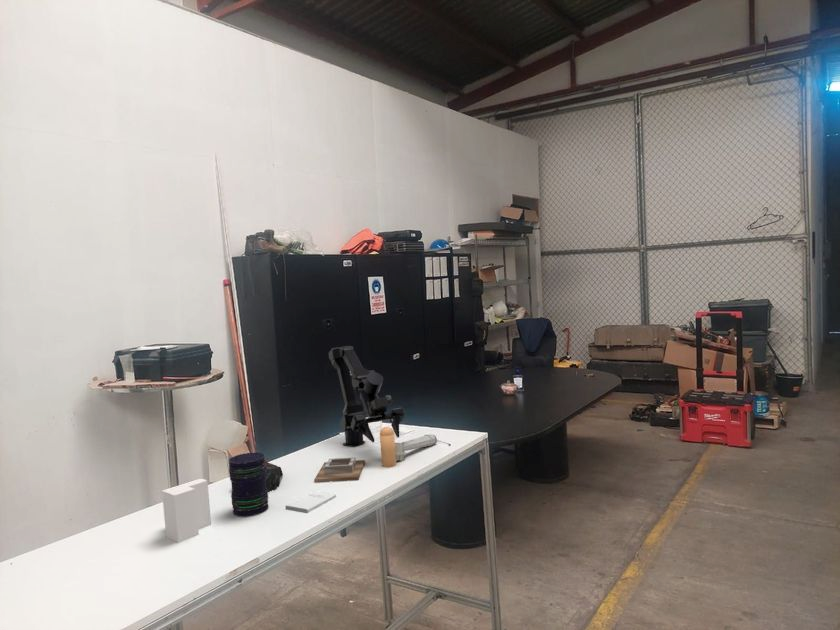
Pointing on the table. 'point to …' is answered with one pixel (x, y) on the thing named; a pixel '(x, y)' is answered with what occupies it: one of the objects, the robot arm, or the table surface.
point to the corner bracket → (186, 509)
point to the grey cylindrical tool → (413, 445)
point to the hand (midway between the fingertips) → (386, 439)
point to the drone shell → (273, 476)
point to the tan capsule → (387, 447)
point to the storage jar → (248, 484)
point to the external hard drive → (310, 501)
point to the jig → (340, 470)
